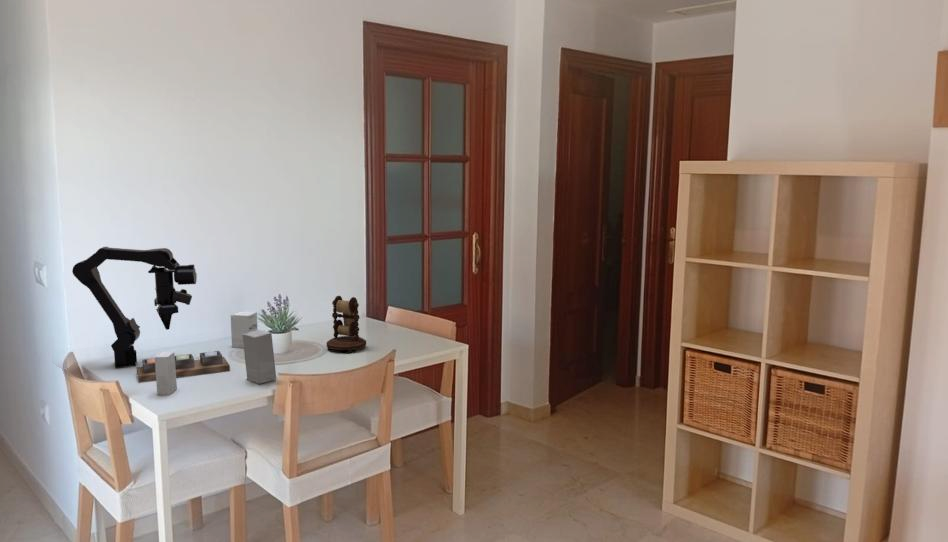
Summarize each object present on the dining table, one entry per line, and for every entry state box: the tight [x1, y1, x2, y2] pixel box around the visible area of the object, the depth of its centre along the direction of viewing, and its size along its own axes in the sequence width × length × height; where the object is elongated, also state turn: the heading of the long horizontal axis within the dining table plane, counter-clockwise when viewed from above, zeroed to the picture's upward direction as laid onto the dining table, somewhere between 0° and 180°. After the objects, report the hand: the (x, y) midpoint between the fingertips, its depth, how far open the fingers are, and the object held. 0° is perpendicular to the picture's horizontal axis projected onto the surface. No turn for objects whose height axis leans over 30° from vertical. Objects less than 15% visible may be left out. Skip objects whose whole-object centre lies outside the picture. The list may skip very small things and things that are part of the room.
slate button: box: [204, 351, 217, 357], centre depth 253 cm, size 4×4×3 cm
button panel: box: [135, 350, 231, 383], centre depth 249 cm, size 28×12×5 cm, turn 117°
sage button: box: [176, 354, 189, 360], centre depth 248 cm, size 4×4×3 cm
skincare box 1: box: [153, 351, 178, 396], centre depth 227 cm, size 6×4×12 cm
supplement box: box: [230, 311, 259, 349], centre depth 282 cm, size 7×7×13 cm
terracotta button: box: [147, 357, 155, 364], centre depth 244 cm, size 4×4×3 cm
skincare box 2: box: [242, 329, 277, 385], centre depth 239 cm, size 8×7×16 cm
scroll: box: [326, 295, 367, 354], centre depth 277 cm, size 15×15×20 cm
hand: (167, 329), depth 258 cm, fingers closed
